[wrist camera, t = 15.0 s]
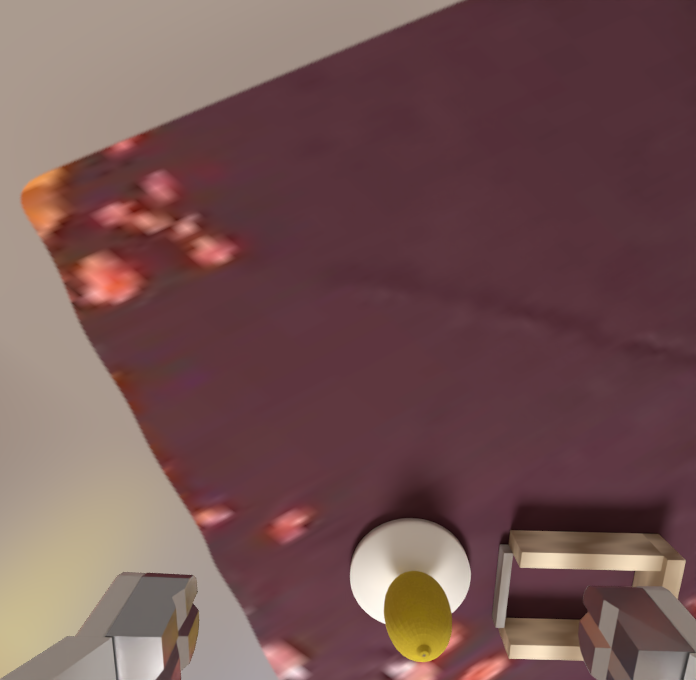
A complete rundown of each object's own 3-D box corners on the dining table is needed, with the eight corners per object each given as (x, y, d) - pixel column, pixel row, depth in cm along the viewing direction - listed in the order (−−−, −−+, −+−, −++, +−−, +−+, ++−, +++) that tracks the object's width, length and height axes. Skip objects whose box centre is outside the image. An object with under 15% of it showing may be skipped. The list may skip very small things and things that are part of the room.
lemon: (411, 540, 41) (424, 611, 33) (454, 577, 42) (477, 655, 34) (368, 578, 42) (371, 656, 34) (410, 613, 43) (423, 697, 35)
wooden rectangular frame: (658, 533, 42) (685, 560, 39) (639, 634, 44) (662, 667, 41) (501, 529, 42) (514, 555, 39) (490, 630, 45) (501, 663, 41)
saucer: (472, 519, 42) (475, 526, 41) (463, 620, 44) (465, 629, 43) (351, 516, 42) (351, 523, 41) (349, 617, 44) (348, 626, 43)
